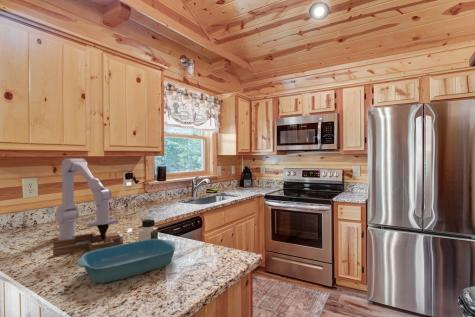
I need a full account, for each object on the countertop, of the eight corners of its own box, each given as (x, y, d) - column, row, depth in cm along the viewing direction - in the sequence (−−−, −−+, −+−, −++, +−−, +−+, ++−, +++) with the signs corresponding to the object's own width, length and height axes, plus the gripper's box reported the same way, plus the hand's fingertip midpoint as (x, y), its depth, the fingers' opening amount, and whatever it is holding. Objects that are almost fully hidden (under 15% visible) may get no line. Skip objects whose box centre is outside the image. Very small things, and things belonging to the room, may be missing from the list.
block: (104, 241, 135) (104, 233, 135) (117, 239, 138) (117, 231, 138) (106, 244, 130) (105, 236, 130) (119, 242, 133) (118, 234, 133)
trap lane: (53, 244, 130) (53, 238, 130) (116, 234, 146) (116, 228, 146) (52, 259, 111) (52, 251, 111) (125, 245, 128) (125, 238, 128)
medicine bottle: (151, 245, 128) (150, 221, 128) (138, 244, 130) (138, 220, 130) (158, 241, 135) (158, 218, 135) (145, 240, 137) (145, 217, 137)
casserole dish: (162, 249, 124) (162, 234, 124) (185, 263, 107) (185, 246, 107) (72, 272, 100) (71, 253, 100) (84, 295, 83) (84, 273, 83)
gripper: (87, 216, 125) (87, 244, 125) (119, 212, 133) (119, 238, 133) (85, 213, 131) (86, 240, 131) (117, 210, 139) (117, 235, 139)
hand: (102, 239), depth 132 cm, fingers closed
